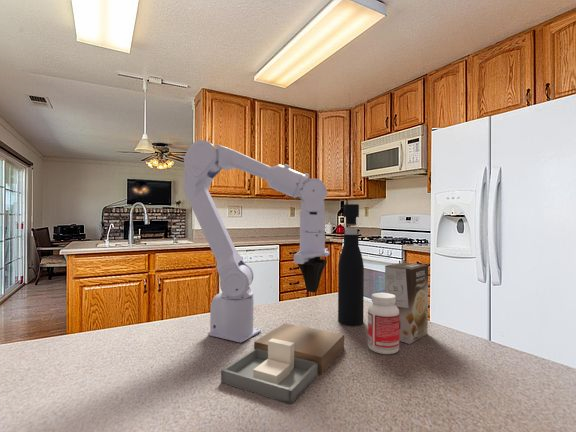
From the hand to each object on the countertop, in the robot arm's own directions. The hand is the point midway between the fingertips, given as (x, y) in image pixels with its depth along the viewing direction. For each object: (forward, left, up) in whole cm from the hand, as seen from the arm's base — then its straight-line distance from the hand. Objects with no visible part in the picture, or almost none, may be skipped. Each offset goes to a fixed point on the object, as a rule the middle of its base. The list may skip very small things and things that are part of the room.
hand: (312, 291), depth 75 cm
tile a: (+2, -17, -7) cm, 19 cm away
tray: (+2, -21, -10) cm, 24 cm away
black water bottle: (+5, +13, -10) cm, 17 cm away
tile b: (+2, -21, -8) cm, 23 cm away
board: (+2, -10, -10) cm, 14 cm away
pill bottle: (+16, 0, -10) cm, 19 cm away
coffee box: (+19, +10, -10) cm, 24 cm away
